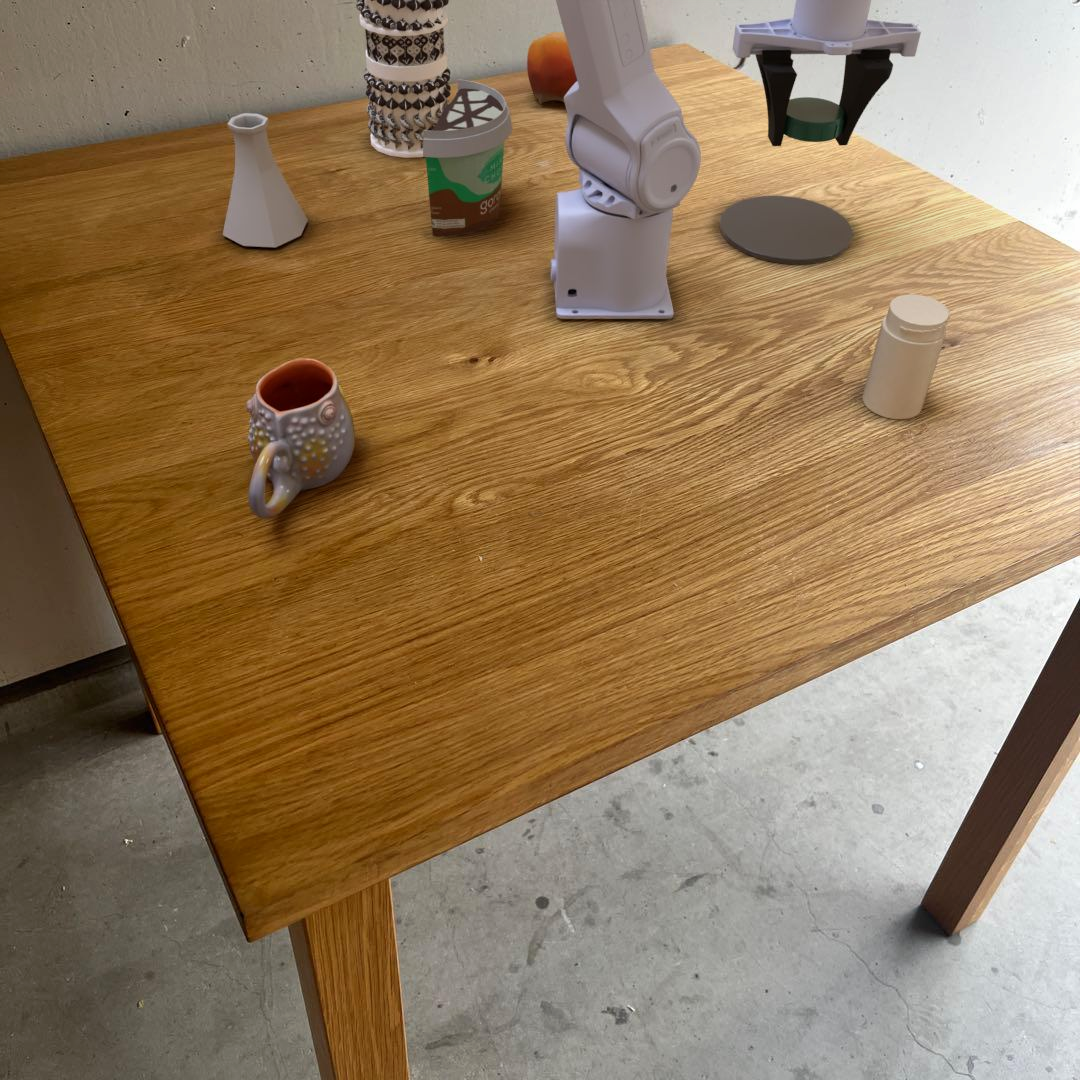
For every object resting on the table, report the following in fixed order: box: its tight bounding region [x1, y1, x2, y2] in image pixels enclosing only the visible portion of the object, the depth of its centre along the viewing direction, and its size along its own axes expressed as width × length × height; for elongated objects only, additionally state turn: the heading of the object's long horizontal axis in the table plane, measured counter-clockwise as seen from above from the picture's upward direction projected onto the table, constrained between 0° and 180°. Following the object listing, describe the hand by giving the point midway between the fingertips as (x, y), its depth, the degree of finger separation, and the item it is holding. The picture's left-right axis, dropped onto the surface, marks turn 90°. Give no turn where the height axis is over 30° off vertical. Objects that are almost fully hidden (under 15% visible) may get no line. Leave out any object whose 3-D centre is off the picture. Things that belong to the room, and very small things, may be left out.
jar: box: [861, 293, 951, 420], centre depth 79 cm, size 4×4×8 cm
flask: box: [222, 112, 309, 248], centre depth 95 cm, size 7×7×10 cm
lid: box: [784, 96, 845, 143], centre depth 92 cm, size 5×5×2 cm
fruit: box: [526, 31, 577, 106], centre depth 119 cm, size 8×8×8 cm
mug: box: [245, 357, 356, 520], centre depth 71 cm, size 12×7×7 cm, turn 167°
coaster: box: [718, 195, 854, 265], centre depth 100 cm, size 12×12×1 cm
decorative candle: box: [356, 0, 452, 159], centre depth 104 cm, size 9×9×25 cm
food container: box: [422, 78, 513, 237], centre depth 98 cm, size 12×6×10 cm, turn 168°
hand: (806, 140), depth 94 cm, fingers closed on lid, 5 cm apart
